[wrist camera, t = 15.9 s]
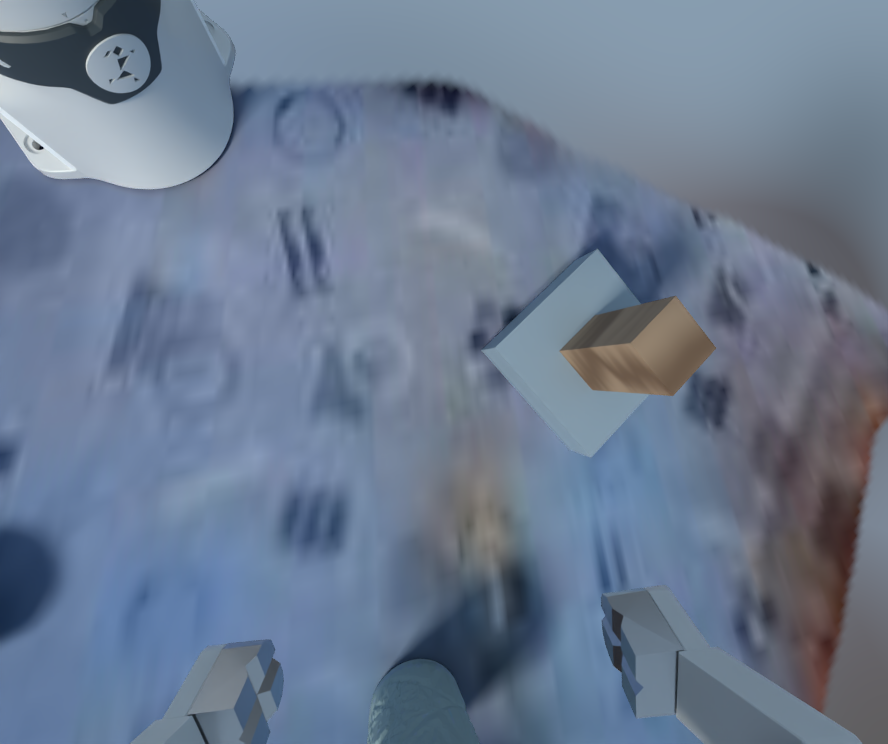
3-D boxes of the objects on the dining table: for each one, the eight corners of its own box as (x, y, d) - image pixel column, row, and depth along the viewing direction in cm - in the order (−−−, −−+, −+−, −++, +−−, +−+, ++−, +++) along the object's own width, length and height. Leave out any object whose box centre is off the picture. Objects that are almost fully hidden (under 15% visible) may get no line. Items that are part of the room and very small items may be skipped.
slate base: (481, 350, 40) (494, 347, 36) (575, 260, 43) (597, 248, 39) (569, 449, 42) (591, 457, 38) (654, 358, 45) (683, 357, 41)
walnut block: (559, 351, 38) (630, 343, 28) (594, 315, 39) (675, 295, 29) (592, 390, 38) (673, 395, 29) (626, 354, 39) (716, 348, 29)
